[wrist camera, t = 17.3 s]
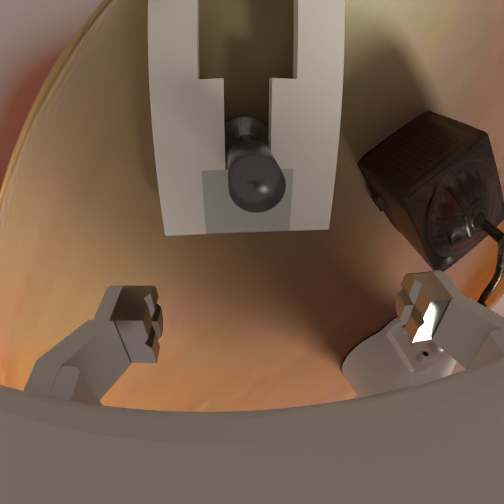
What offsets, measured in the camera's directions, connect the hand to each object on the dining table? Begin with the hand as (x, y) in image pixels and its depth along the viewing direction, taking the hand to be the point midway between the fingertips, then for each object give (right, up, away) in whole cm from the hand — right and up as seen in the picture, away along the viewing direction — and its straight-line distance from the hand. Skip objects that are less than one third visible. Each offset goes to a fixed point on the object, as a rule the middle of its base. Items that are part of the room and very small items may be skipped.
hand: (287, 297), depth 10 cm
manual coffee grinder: (+18, +8, +21) cm, 29 cm away
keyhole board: (-2, +15, +15) cm, 21 cm away
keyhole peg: (-2, +11, +17) cm, 20 cm away
